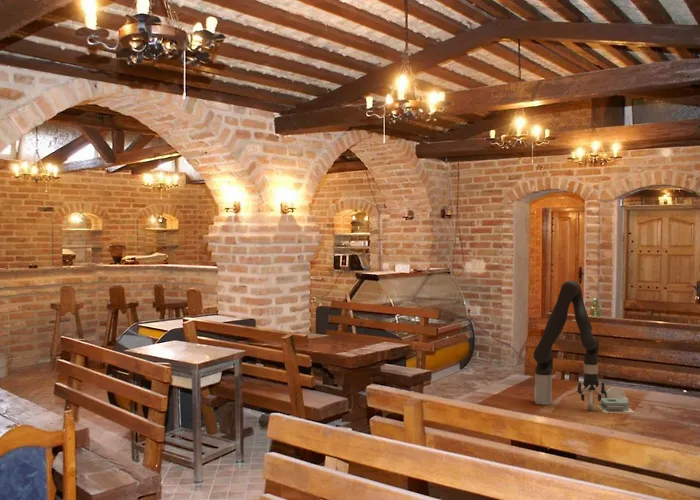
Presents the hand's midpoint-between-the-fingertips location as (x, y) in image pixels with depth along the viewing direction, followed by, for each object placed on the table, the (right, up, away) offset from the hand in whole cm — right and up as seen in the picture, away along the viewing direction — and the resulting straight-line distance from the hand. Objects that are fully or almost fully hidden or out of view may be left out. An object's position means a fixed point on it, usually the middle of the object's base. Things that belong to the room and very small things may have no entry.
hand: (591, 400), depth 356 cm
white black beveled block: (+20, -5, +17) cm, 27 cm away
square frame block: (+13, -5, -1) cm, 14 cm away
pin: (0, -5, 0) cm, 5 cm away
